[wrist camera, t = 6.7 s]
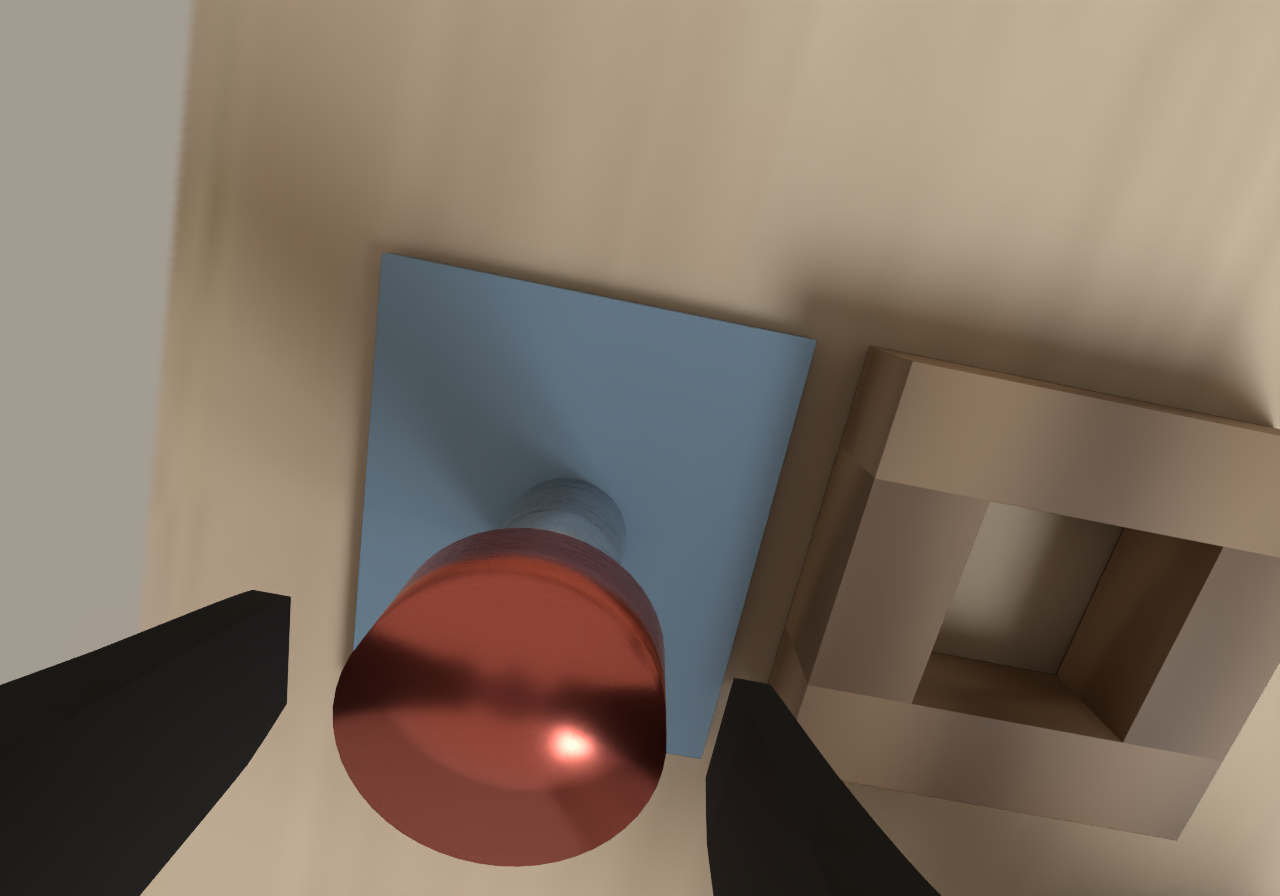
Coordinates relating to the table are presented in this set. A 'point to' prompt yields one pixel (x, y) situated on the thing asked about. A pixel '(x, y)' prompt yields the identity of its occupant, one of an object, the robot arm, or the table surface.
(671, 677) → the mat
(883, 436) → the eye block
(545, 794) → the red mushroom head
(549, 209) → the table surface
